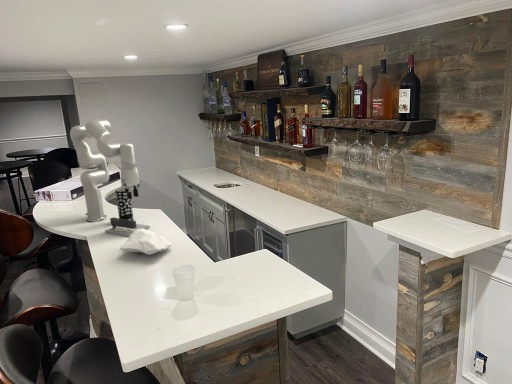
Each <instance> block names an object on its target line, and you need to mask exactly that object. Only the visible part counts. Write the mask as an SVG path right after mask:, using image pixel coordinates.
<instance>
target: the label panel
mask: <svg viewBox="0 0 512 384" xmlns="http://www.w3.org/2000/svg"><path fill="white" fill-rule="evenodd" d="M136 227H137V228H134V229H131V228H124V227H118V226H111V227H110V228H108V229H105V230H104V233H105V234H108V233H109V234H111V235H114V236H115V235H116V236H121V237H126V238H129V237H130V235H131V234H132V233H133V232H134V231H135V230H136V229H142V228H143V229H146V230H148V229H151V228H150V227H151V226H150V225H149V224H140V223H136ZM109 234H108V235H109Z"/></svg>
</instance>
